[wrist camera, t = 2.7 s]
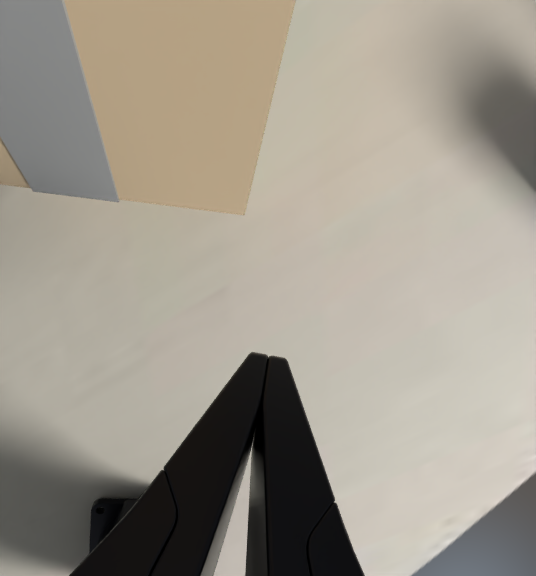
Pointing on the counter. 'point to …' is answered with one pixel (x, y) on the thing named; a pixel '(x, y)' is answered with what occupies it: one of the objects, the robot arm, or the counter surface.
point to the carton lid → (138, 97)
